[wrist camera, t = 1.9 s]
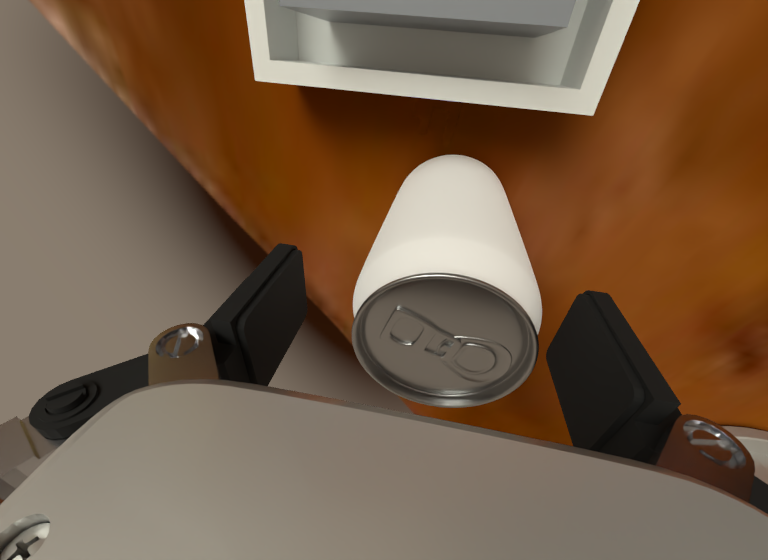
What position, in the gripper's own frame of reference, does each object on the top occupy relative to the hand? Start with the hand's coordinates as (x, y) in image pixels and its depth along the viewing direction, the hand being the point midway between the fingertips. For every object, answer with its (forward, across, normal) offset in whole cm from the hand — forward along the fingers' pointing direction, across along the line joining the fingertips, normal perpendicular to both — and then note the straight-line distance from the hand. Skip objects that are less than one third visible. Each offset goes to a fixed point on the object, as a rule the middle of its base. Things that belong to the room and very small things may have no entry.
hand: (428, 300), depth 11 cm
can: (+10, -1, +1) cm, 10 cm away
